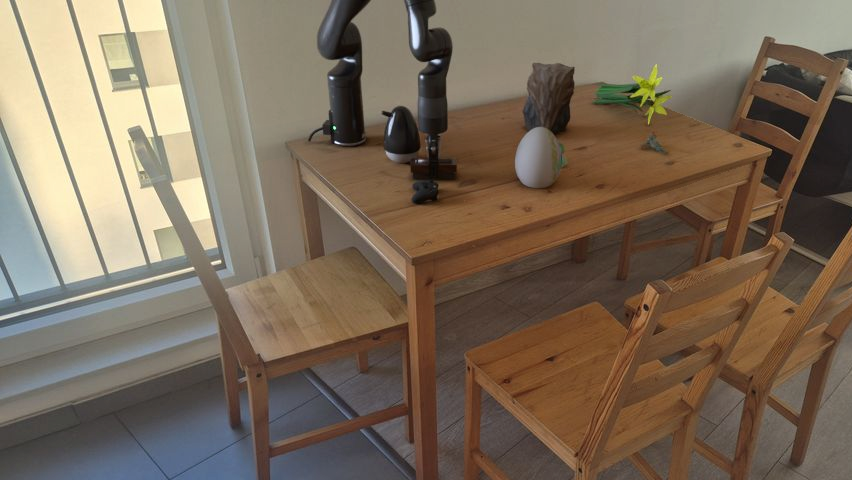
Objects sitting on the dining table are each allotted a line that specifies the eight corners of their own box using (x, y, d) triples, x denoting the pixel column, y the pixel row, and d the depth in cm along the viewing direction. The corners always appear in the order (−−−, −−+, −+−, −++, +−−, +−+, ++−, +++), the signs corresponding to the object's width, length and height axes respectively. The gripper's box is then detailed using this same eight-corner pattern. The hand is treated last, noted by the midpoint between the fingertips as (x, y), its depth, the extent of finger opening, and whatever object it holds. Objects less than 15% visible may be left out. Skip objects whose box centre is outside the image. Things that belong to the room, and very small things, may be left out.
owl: (519, 126, 215) (523, 62, 204) (551, 120, 221) (556, 57, 211) (544, 139, 206) (549, 73, 196) (576, 132, 213) (582, 67, 202)
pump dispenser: (379, 155, 191) (376, 102, 183) (414, 150, 195) (413, 98, 187) (389, 168, 183) (386, 114, 175) (425, 164, 187) (424, 110, 179)
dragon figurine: (676, 145, 203) (655, 130, 205) (673, 144, 196) (651, 128, 198) (662, 163, 205) (642, 148, 207) (658, 162, 198) (637, 146, 200)
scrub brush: (456, 173, 183) (456, 155, 180) (456, 179, 179) (456, 161, 176) (411, 173, 181) (410, 155, 179) (411, 179, 178) (410, 161, 175)
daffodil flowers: (622, 99, 245) (695, 101, 216) (597, 127, 242) (667, 132, 213) (601, 61, 236) (674, 57, 207) (574, 89, 233) (644, 88, 204)
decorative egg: (566, 189, 176) (572, 134, 168) (522, 193, 173) (525, 137, 165) (550, 171, 186) (555, 118, 178) (508, 174, 183) (510, 121, 175)
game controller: (410, 184, 173) (427, 169, 171) (425, 198, 175) (442, 183, 174) (409, 201, 165) (426, 185, 163) (425, 215, 167) (442, 199, 165)
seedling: (552, 177, 195) (557, 174, 189) (532, 157, 194) (536, 154, 188) (569, 159, 196) (574, 155, 189) (549, 139, 195) (553, 135, 188)
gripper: (417, 102, 176) (419, 164, 185) (417, 121, 164) (419, 186, 174) (446, 103, 177) (447, 164, 186) (448, 121, 165) (448, 186, 174)
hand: (433, 174), depth 180 cm, fingers closed on scrub brush, 4 cm apart
